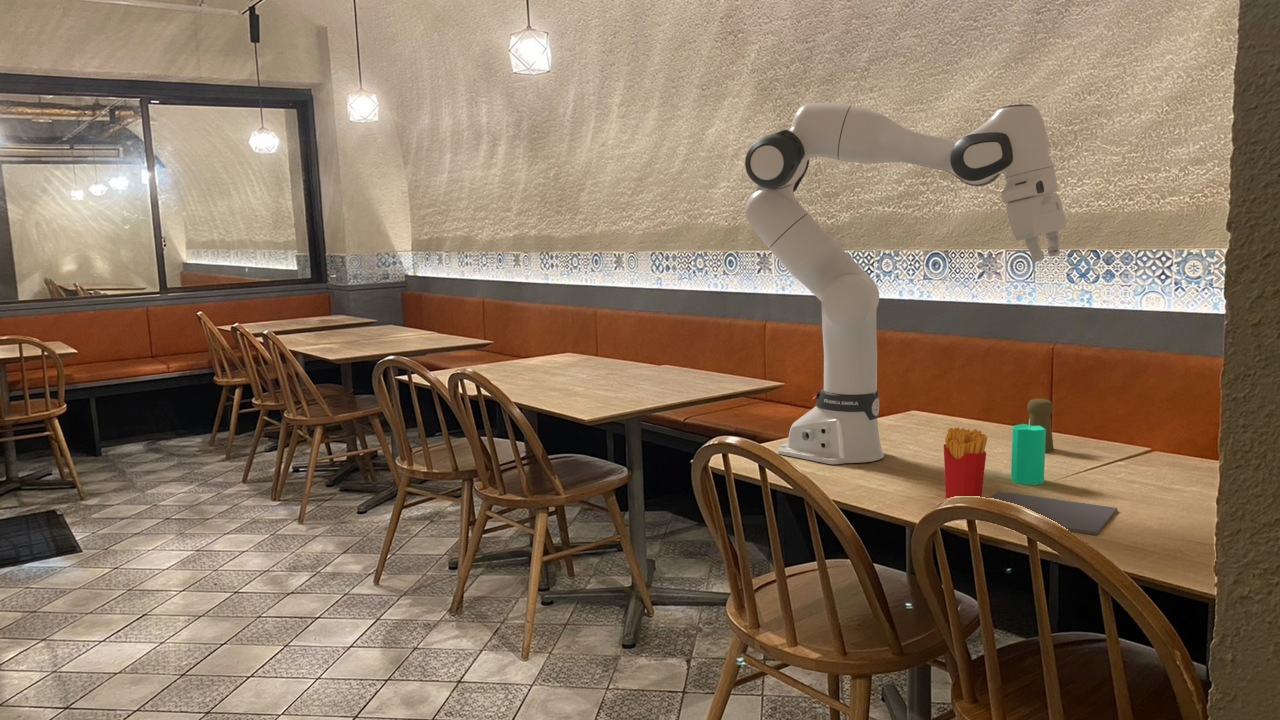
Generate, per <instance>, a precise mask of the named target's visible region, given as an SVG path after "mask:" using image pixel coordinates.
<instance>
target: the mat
mask: <svg viewBox="0 0 1280 720" xmlns="http://www.w3.org/2000/svg"><path fill="white" fill-rule="evenodd" d="M989 498H994V499H999V500H1002V501H1006V502H1010V503H1014V504H1017V505H1020V506H1023V507H1025V508H1027V509H1030V510H1032V511H1034V512H1036V513H1038V514H1041V515H1043V516H1045V517H1047V518H1049V519H1051V520H1053V521H1055V522H1057V523H1058V524H1060V525H1061V526H1063V527H1065V528H1066V529H1068V530H1069V531H1068V532H1072V533H1079V534H1084V533H1085V534H1086V535H1091V534H1094V535H1093V536H1098V535H1099V533H1100V532H1101V531H1102V530H1101V529H1103V528H1104V527H1105V526H1106V525H1107V524H1108V522H1109V521H1110V520H1111V519H1112V517H1113V516H1114V515H1115V514H1116V513H1117V511H1118V507H1114V506H1107V505H1100V504H1099V505H1098V504H1094V503H1093V504H1092V503H1086V502H1080V501H1079V502H1077V501H1071V500H1065V499H1064V500H1063V499H1057V498H1056V499H1055V498H1050V497H1042V496H1036V495H1029V494H1021V493H1014V492H1008V491H999V490H998V491H996V492H995V493H993V495H991V496H989ZM1115 512H1116V513H1115ZM1106 523H1107V524H1106ZM1100 530H1101V531H1100Z"/></svg>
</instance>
